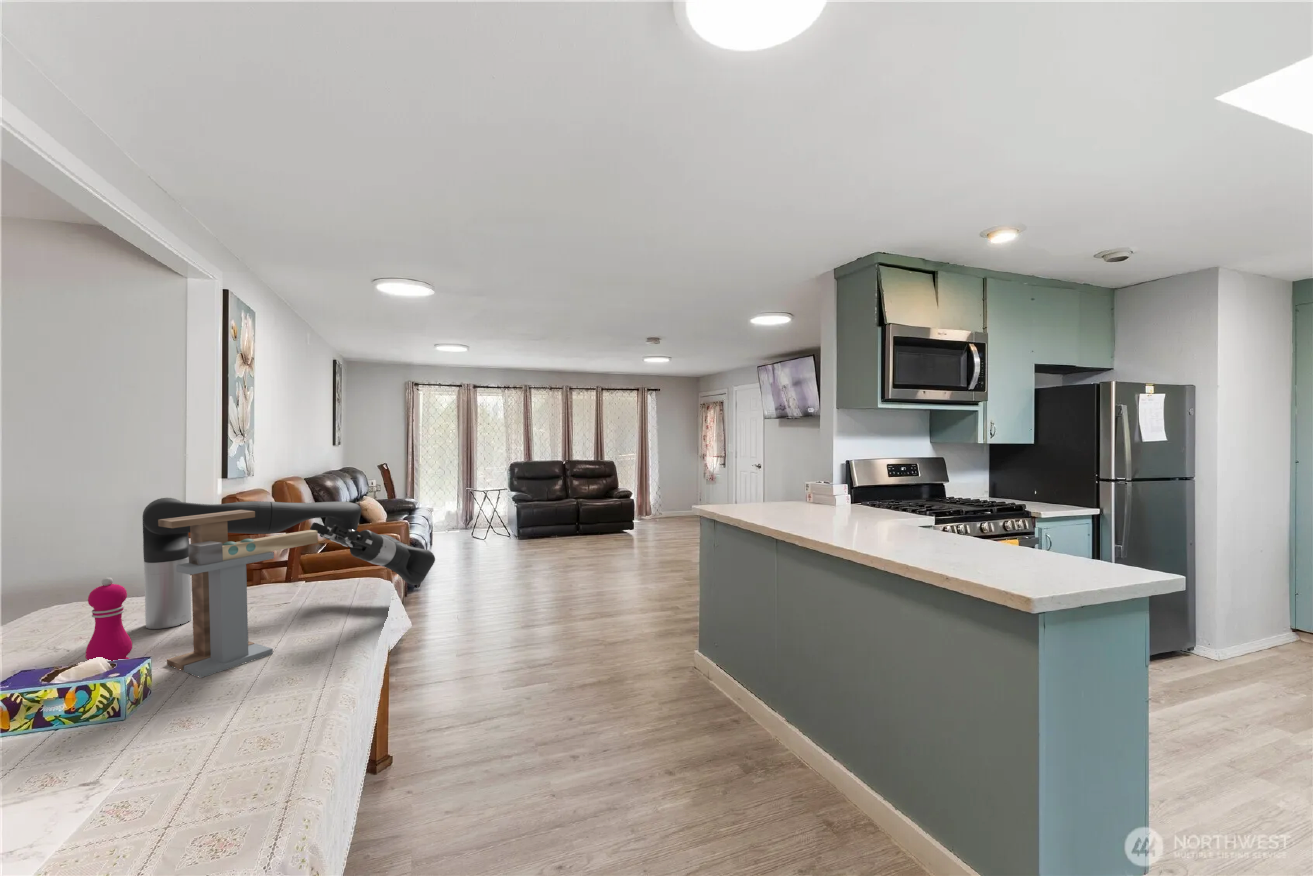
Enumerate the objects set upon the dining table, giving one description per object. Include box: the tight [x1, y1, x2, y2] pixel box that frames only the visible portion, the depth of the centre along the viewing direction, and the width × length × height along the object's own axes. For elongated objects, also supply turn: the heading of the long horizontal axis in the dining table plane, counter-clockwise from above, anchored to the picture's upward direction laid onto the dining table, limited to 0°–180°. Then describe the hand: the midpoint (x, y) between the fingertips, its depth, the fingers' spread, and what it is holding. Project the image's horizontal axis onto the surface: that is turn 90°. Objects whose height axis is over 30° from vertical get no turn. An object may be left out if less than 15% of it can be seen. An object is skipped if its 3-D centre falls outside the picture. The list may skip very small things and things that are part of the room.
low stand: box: [176, 551, 275, 679], centre depth 125 cm, size 7×16×23 cm, turn 152°
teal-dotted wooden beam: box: [188, 529, 319, 566], centre depth 130 cm, size 5×25×4 cm, turn 152°
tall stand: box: [158, 510, 255, 671], centre depth 128 cm, size 7×16×32 cm, turn 152°
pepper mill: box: [85, 577, 133, 661], centre depth 121 cm, size 7×7×20 cm
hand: (322, 527), depth 143 cm, fingers open, 8 cm apart
